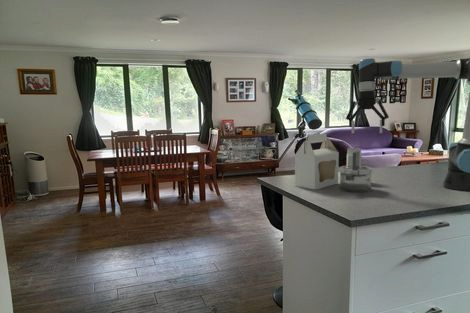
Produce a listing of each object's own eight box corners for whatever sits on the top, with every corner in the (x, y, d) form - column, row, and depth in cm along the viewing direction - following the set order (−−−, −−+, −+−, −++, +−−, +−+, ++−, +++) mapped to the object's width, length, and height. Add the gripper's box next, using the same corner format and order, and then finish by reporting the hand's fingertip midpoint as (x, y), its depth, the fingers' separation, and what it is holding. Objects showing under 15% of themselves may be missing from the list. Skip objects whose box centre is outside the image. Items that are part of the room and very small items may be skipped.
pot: (375, 187, 179) (375, 166, 177) (365, 196, 161) (365, 173, 160) (344, 184, 187) (344, 164, 186) (331, 192, 170) (331, 170, 168)
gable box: (318, 180, 201) (319, 132, 197) (338, 183, 191) (339, 133, 188) (294, 186, 187) (294, 134, 183) (314, 190, 177) (314, 135, 173)
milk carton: (361, 182, 191) (361, 148, 189) (347, 182, 193) (348, 148, 190) (359, 180, 198) (359, 147, 196) (346, 179, 200) (346, 147, 197)
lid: (368, 171, 177) (368, 151, 175) (363, 174, 168) (364, 153, 167) (348, 169, 182) (349, 150, 181) (343, 172, 174) (343, 152, 173)
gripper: (395, 89, 168) (394, 132, 170) (343, 92, 181) (343, 132, 184) (392, 88, 162) (392, 133, 164) (339, 92, 175) (339, 133, 178)
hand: (366, 133), depth 174 cm, fingers open, 13 cm apart
